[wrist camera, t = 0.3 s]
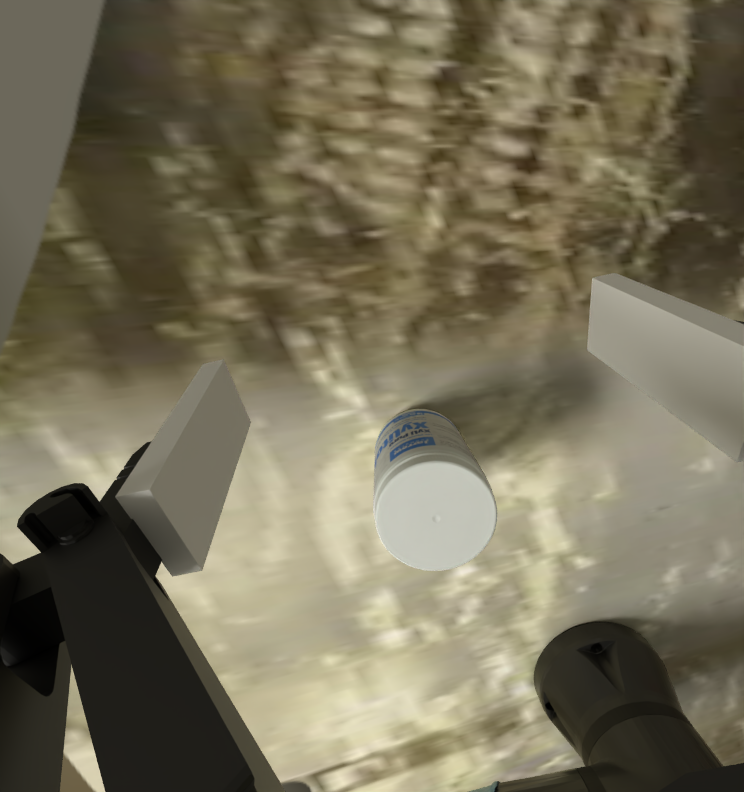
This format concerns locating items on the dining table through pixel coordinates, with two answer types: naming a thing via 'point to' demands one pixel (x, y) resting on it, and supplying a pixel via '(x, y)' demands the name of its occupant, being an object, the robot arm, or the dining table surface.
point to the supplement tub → (430, 493)
